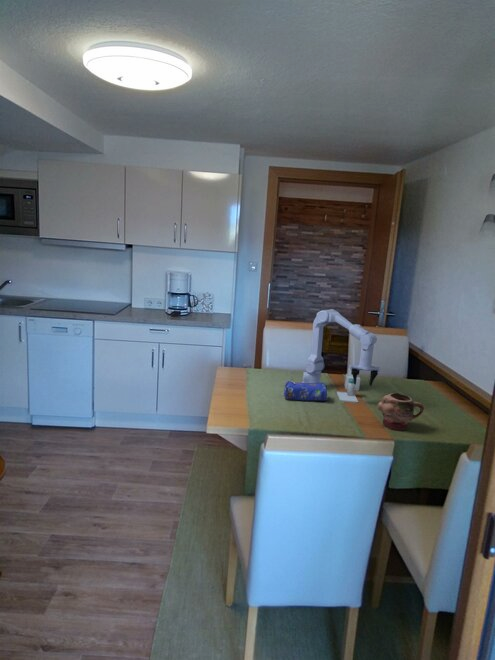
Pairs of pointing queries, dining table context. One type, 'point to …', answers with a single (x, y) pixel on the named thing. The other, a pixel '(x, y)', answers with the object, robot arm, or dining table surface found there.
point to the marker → (351, 387)
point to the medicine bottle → (352, 378)
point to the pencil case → (305, 391)
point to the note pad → (346, 397)
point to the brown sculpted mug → (398, 410)
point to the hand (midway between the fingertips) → (362, 384)
